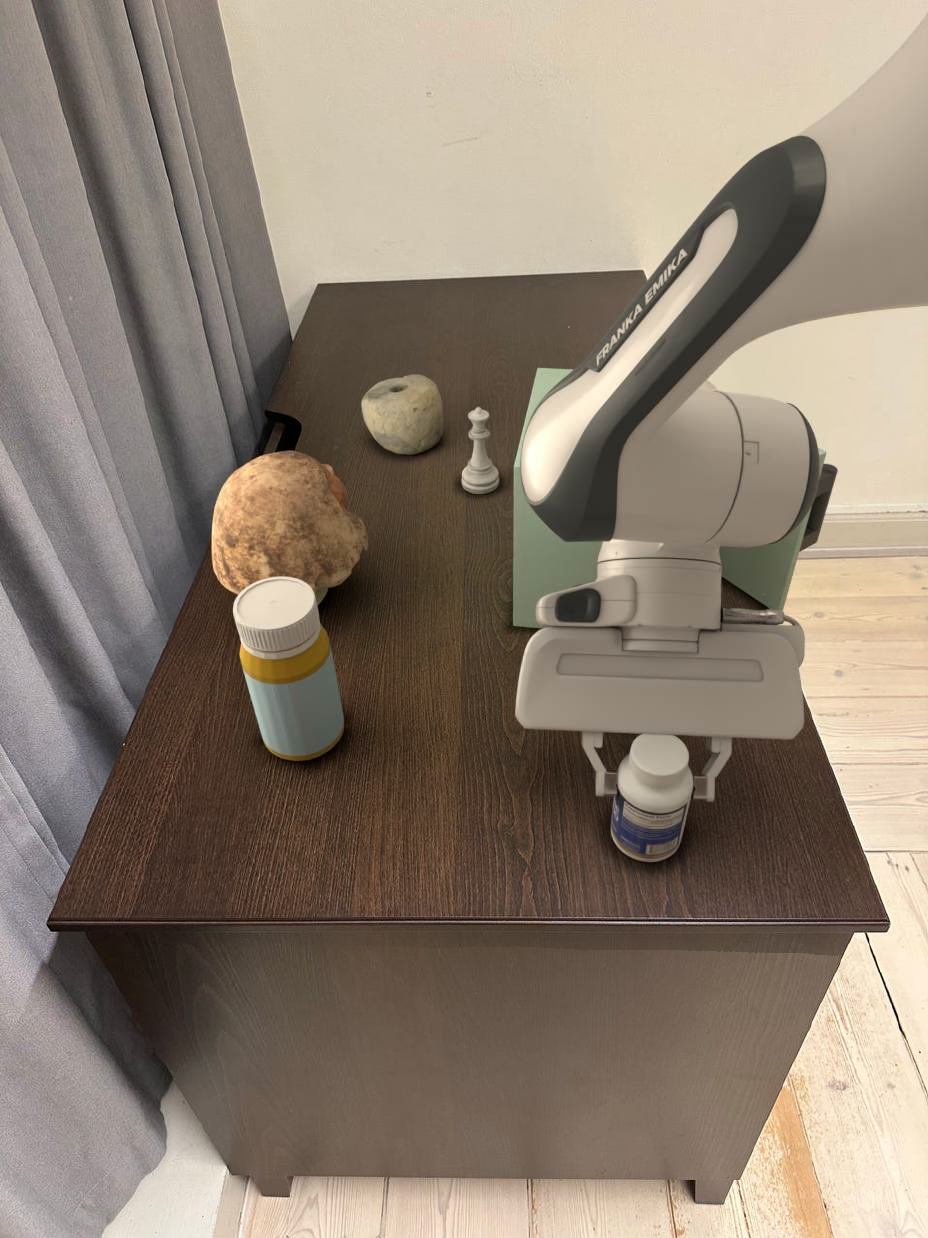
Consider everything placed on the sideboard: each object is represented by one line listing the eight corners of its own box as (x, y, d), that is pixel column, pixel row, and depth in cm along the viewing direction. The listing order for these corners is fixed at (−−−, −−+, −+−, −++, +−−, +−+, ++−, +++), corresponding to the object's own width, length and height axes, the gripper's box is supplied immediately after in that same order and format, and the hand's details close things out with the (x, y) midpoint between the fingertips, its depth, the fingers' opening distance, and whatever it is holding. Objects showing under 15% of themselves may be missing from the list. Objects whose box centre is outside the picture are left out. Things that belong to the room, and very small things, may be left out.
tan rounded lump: (406, 575, 92) (394, 449, 82) (307, 667, 82) (279, 537, 72) (296, 531, 98) (272, 409, 88) (192, 612, 89) (152, 485, 79)
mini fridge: (643, 525, 97) (662, 373, 85) (639, 637, 84) (660, 475, 72) (534, 518, 99) (537, 367, 87) (513, 626, 86) (513, 466, 74)
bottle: (355, 750, 75) (331, 618, 65) (273, 776, 73) (236, 644, 63) (333, 694, 80) (308, 563, 70) (256, 717, 78) (219, 586, 68)
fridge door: (690, 505, 99) (715, 356, 87) (823, 587, 88) (871, 429, 76) (646, 526, 97) (666, 376, 85) (777, 614, 85) (820, 454, 73)
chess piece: (455, 489, 103) (451, 412, 97) (472, 470, 106) (469, 394, 100) (488, 498, 102) (487, 420, 95) (505, 479, 105) (505, 402, 98)
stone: (466, 393, 113) (435, 365, 103) (442, 471, 113) (410, 450, 104) (398, 378, 116) (363, 351, 107) (375, 454, 116) (338, 433, 107)
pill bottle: (623, 795, 70) (635, 713, 64) (690, 820, 68) (709, 738, 62) (599, 847, 67) (608, 766, 60) (668, 876, 65) (685, 795, 58)
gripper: (792, 612, 66) (789, 798, 66) (519, 604, 68) (513, 785, 67) (819, 607, 60) (815, 812, 59) (517, 598, 62) (511, 797, 61)
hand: (653, 798), depth 64 cm, fingers closed on pill bottle, 5 cm apart
